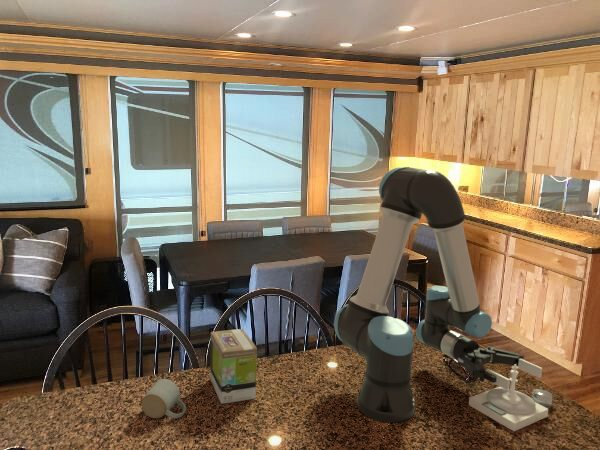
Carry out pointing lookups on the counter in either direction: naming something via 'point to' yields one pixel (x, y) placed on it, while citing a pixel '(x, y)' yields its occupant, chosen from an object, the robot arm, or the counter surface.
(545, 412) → the scale
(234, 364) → the tea box
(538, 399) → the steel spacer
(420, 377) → the counter surface
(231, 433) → the counter surface
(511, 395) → the chess piece
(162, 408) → the ceramic mug
